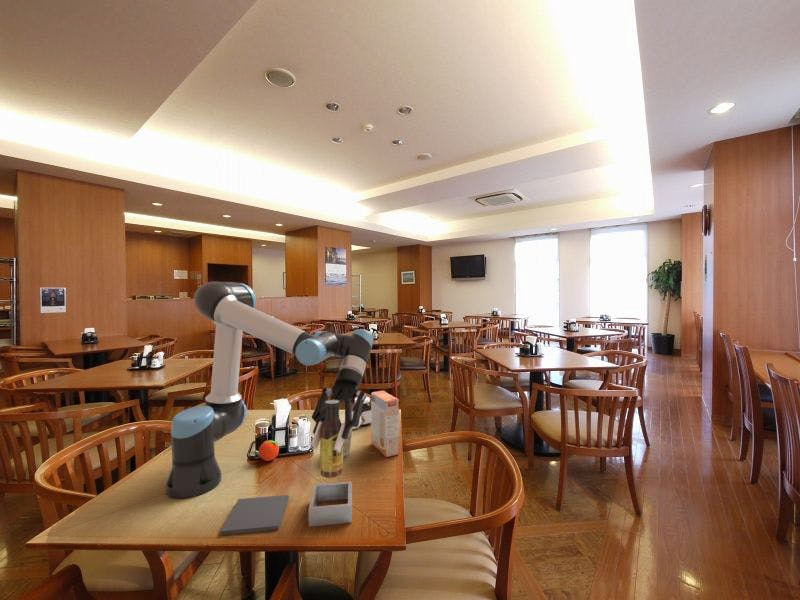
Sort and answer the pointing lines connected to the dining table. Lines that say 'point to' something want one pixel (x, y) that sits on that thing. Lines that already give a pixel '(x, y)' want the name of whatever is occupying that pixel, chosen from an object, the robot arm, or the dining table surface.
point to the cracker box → (385, 423)
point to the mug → (347, 443)
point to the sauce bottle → (330, 441)
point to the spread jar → (363, 413)
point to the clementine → (269, 450)
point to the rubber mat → (256, 515)
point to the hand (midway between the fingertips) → (325, 448)
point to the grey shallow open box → (330, 512)
